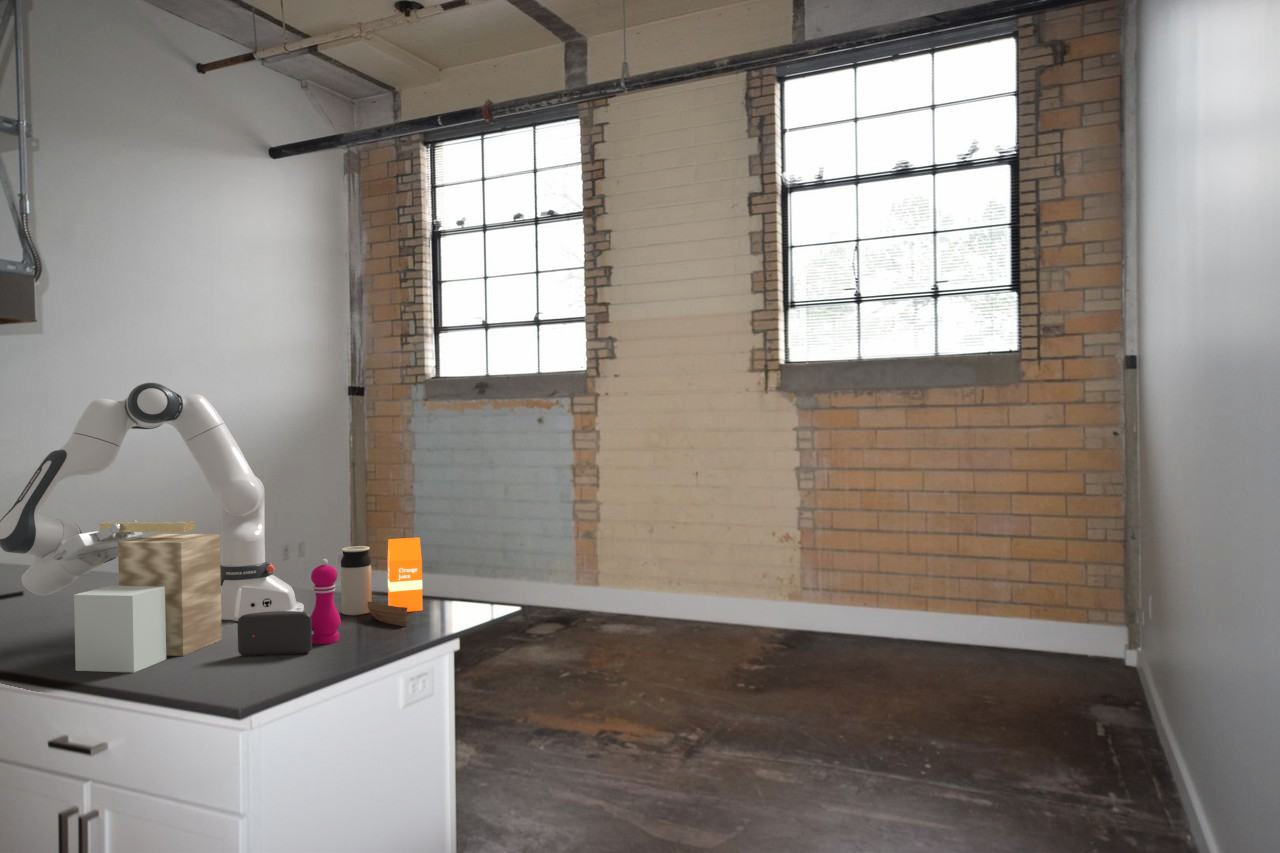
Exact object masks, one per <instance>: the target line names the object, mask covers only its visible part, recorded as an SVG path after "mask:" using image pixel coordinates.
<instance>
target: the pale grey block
mask: <svg viewBox="0 0 1280 853" xmlns="http://www.w3.org/2000/svg"><path fill="white" fill-rule="evenodd" d="M73 609H74V610H73V612H74V653H75V654H74V655H75V656H74V657H75V658H74V660H75V671H76V672H102V673H103V672H106V673H137V672H138V671H141V670H144V669H146V668H149V667H151V666H154V665H156V664H159V663H160V662H161V663H162V662H163V661H166V660H167V655H166V617H165V587H163V586H119V585H105V586H102V587H98V588H95V589H90V590H88V591H83V592H79V593H75V594H73Z"/></svg>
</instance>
